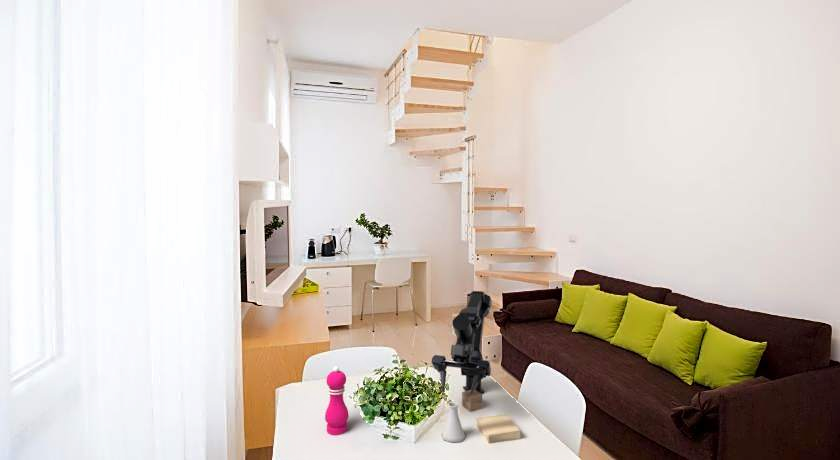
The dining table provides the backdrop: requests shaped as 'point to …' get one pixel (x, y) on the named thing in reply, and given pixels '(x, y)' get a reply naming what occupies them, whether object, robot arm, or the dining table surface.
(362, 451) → the dining table surface
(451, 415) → the flask
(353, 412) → the dining table surface
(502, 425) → the oak block
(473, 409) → the walnut cube
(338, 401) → the pepper mill
